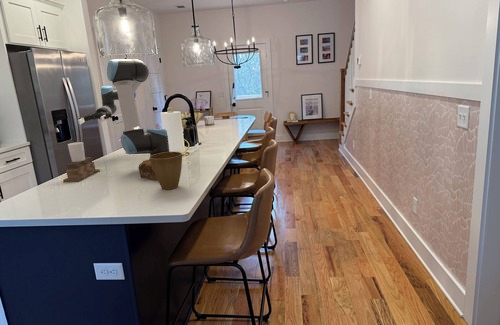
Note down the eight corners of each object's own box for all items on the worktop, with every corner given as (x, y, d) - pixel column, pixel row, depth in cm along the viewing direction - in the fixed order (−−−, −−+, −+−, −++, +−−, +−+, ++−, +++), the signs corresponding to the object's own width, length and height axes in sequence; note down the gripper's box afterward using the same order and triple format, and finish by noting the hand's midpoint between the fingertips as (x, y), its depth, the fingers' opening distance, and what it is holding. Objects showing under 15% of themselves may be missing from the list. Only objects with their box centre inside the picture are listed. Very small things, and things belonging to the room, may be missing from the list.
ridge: (85, 172, 203) (82, 156, 201) (99, 171, 202) (97, 156, 200) (63, 182, 181) (60, 165, 179) (79, 181, 181) (76, 164, 178)
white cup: (74, 159, 193) (71, 142, 191) (88, 158, 194) (85, 141, 191) (68, 162, 185) (65, 145, 183) (83, 161, 186) (79, 144, 184)
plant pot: (151, 186, 162) (147, 154, 159) (182, 181, 168) (178, 150, 164) (156, 194, 149) (151, 160, 145) (188, 188, 154) (185, 155, 151)
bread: (175, 177, 177) (173, 159, 175) (158, 182, 169) (156, 163, 167) (155, 173, 189) (153, 156, 187) (138, 177, 181) (136, 159, 179)
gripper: (123, 115, 218) (112, 124, 199) (86, 121, 219) (71, 129, 199) (120, 104, 216) (109, 112, 196) (82, 109, 216) (67, 117, 196)
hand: (90, 121), depth 197 cm, fingers open, 13 cm apart
